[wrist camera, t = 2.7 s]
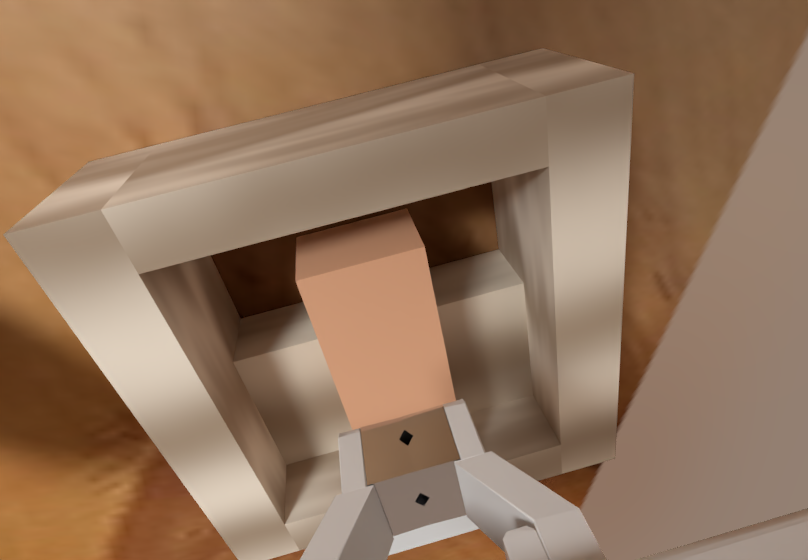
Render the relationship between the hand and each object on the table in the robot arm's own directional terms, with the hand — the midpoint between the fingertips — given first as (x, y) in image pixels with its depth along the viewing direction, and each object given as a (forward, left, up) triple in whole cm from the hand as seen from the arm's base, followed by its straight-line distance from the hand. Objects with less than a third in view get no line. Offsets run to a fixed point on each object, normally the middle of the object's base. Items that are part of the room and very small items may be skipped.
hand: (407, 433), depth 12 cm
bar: (+3, 0, -8) cm, 9 cm away
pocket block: (+3, 0, -11) cm, 12 cm away
